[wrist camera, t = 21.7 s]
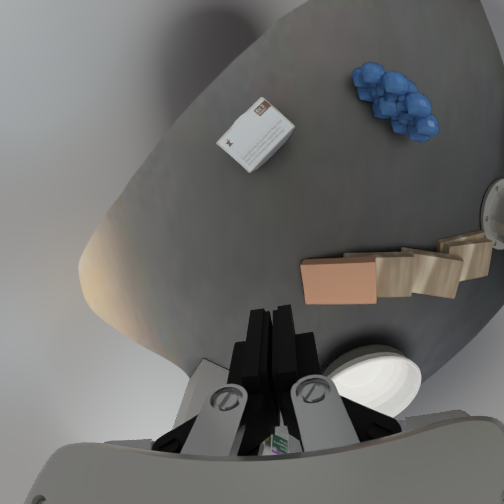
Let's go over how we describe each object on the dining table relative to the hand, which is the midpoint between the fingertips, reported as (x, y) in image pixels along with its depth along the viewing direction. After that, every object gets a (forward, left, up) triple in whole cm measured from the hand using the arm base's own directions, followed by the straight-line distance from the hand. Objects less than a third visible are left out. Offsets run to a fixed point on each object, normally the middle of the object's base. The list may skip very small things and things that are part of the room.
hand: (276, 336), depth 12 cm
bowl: (-10, +31, -27) cm, 42 cm away
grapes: (-17, -12, -27) cm, 34 cm away
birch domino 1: (-8, +11, -26) cm, 29 cm away
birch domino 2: (-17, +11, -26) cm, 33 cm away
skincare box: (0, -9, -27) cm, 29 cm away
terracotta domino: (-2, +11, -26) cm, 28 cm away
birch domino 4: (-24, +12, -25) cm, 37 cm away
